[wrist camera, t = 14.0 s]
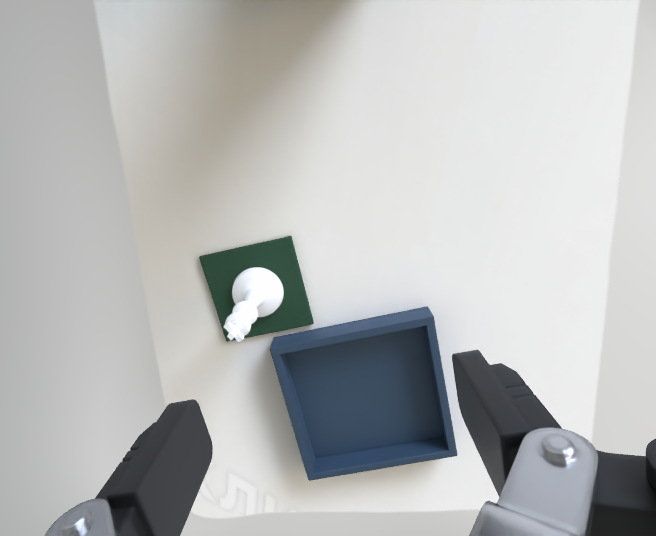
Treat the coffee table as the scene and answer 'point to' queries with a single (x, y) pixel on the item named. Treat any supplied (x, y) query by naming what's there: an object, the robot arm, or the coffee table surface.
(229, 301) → the pad
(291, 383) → the tray
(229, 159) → the coffee table surface
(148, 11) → the coffee table surface
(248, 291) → the chess piece
